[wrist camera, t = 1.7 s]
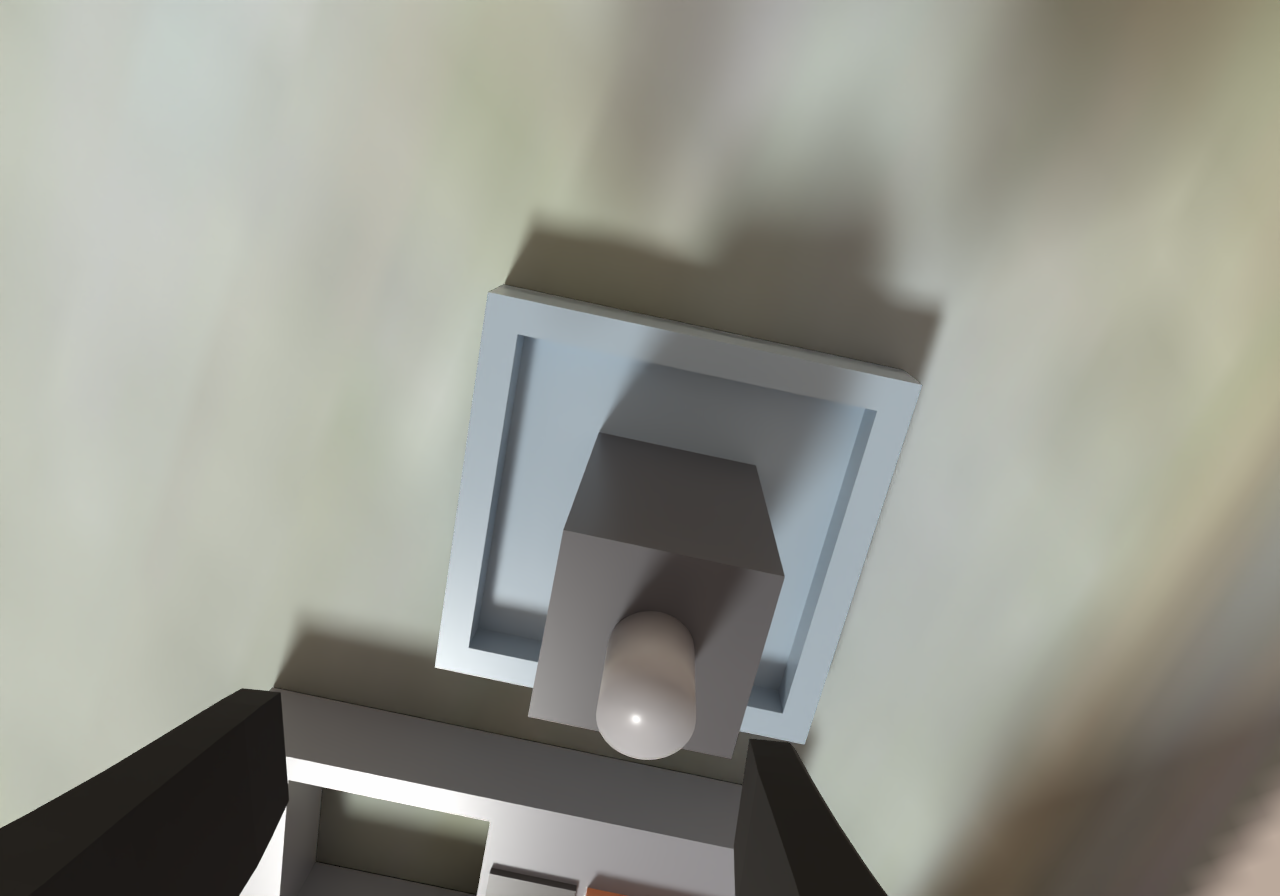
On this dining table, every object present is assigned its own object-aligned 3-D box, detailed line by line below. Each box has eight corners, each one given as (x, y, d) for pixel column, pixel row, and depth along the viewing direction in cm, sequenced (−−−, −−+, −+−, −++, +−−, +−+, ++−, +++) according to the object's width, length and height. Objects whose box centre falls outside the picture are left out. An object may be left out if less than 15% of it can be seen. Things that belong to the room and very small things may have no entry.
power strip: (769, 790, 23) (782, 877, 20) (715, 962, 25) (719, 1062, 23) (272, 687, 23) (212, 759, 20) (260, 868, 25) (204, 957, 22)
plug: (755, 465, 20) (800, 636, 12) (718, 604, 21) (738, 840, 13) (598, 431, 20) (543, 582, 12) (571, 573, 21) (505, 791, 13)
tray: (903, 370, 19) (922, 385, 18) (796, 707, 22) (804, 744, 21) (503, 284, 19) (487, 291, 18) (451, 635, 22) (434, 667, 21)
